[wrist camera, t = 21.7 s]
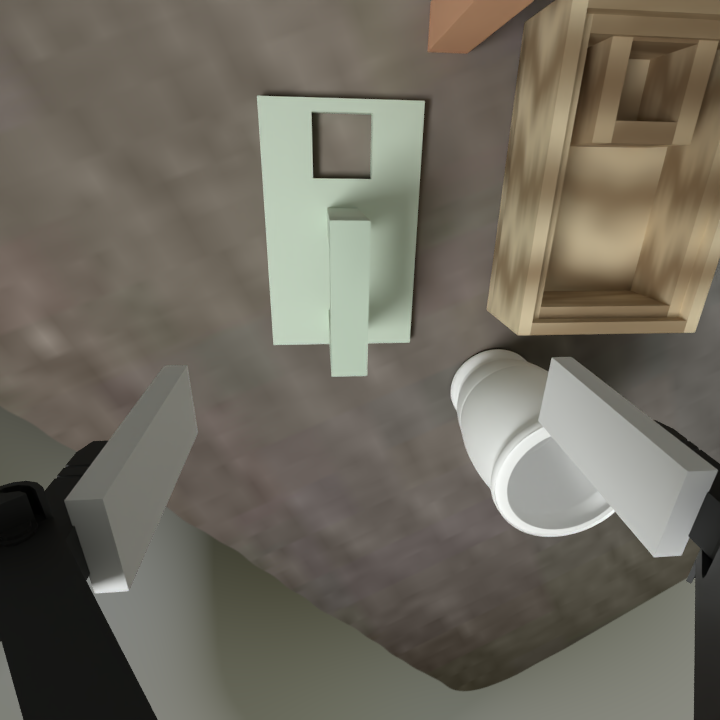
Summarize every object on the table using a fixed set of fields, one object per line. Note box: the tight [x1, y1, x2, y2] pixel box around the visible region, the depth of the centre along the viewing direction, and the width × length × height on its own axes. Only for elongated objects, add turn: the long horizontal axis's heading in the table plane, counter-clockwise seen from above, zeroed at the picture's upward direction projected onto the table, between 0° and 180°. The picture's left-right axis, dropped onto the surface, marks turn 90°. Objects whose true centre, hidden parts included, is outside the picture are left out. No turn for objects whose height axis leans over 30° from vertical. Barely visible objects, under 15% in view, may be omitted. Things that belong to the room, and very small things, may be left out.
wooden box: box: [487, 0, 720, 335], centre depth 34 cm, size 22×15×7 cm
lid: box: [257, 96, 425, 377], centre depth 33 cm, size 19×12×10 cm, turn 179°
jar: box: [451, 349, 615, 537], centre depth 38 cm, size 11×10×15 cm
